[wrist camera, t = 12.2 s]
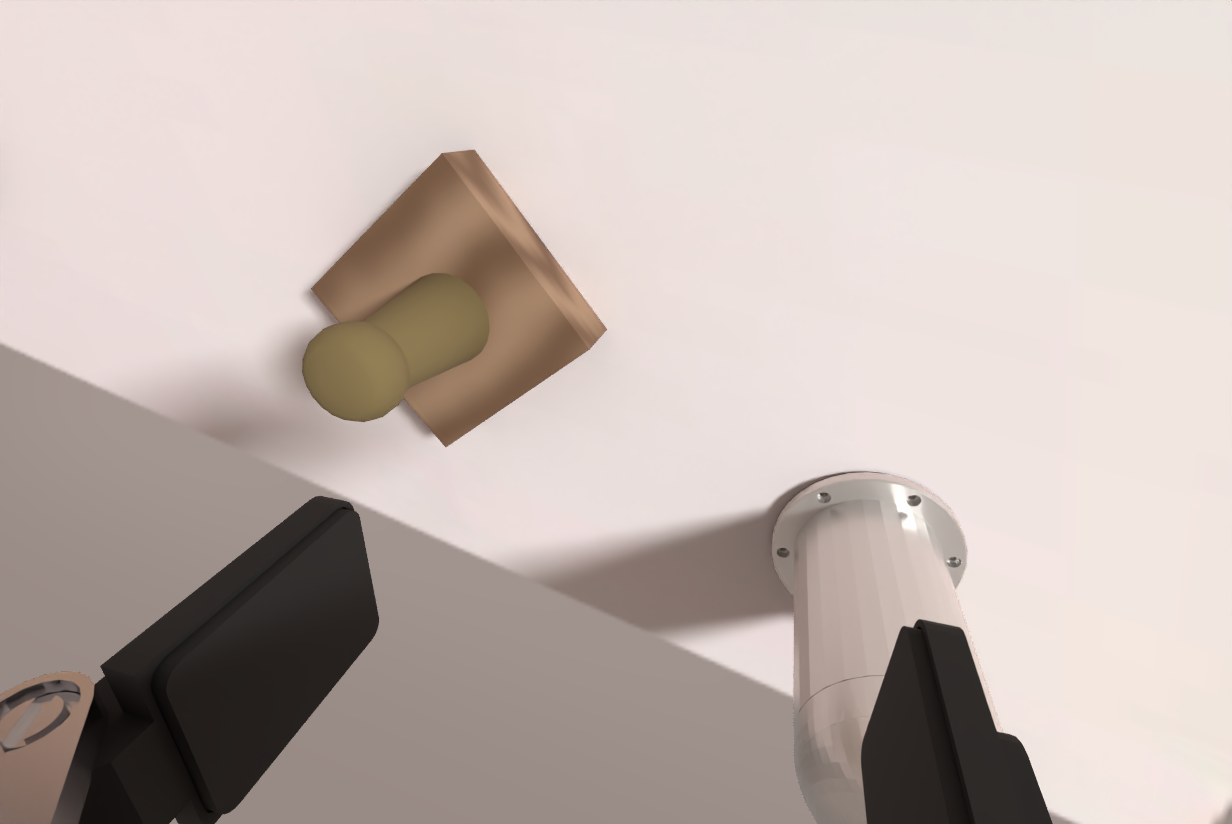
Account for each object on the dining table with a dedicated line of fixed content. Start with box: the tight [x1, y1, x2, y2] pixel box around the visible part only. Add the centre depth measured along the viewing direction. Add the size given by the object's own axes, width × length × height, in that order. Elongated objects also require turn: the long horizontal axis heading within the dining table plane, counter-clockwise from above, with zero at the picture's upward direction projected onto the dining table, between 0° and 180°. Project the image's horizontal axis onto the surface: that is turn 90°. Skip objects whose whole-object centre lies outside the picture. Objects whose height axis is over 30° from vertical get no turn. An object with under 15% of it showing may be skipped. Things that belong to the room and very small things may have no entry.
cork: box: [302, 273, 490, 422], centre depth 34 cm, size 6×6×11 cm
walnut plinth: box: [311, 150, 607, 447], centre depth 41 cm, size 14×14×4 cm
